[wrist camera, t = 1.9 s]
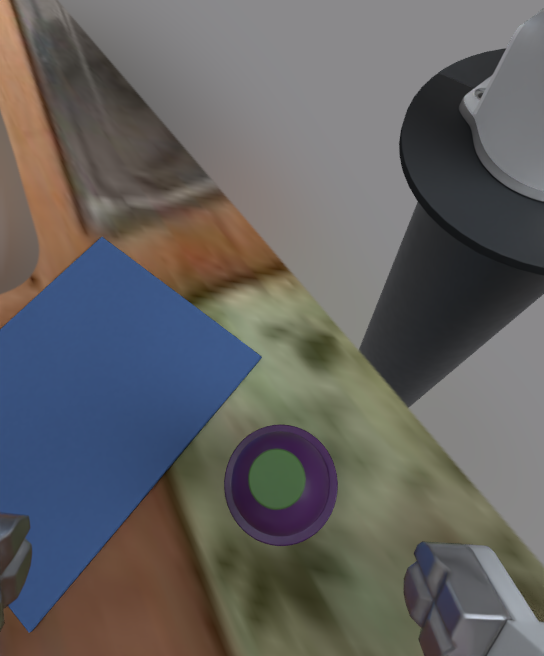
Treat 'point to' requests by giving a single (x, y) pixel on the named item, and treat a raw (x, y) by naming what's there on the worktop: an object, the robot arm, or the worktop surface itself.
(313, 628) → the worktop surface
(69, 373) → the napkin
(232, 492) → the purple bottle
